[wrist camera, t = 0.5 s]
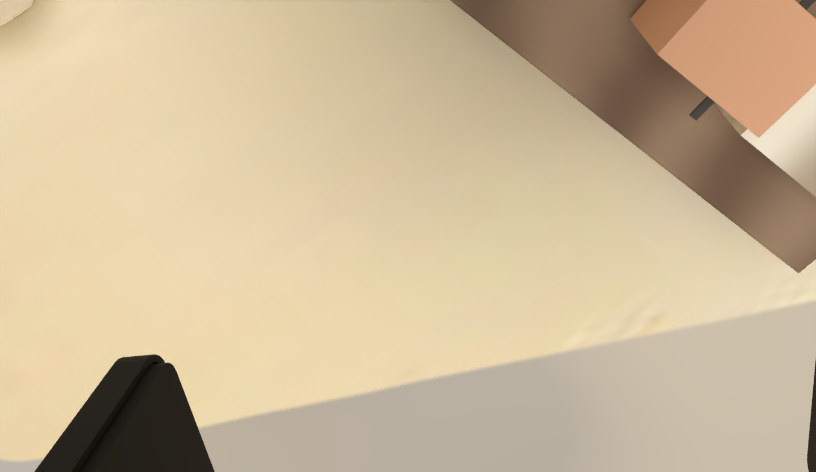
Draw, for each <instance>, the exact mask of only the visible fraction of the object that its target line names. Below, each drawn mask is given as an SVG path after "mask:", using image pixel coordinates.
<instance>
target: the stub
mask: <svg viewBox="0 0 816 472" xmlns="http://www.w3.org/2000/svg"><path fill="white" fill-rule="evenodd" d="M630 20H631V21H632V23H633V24H634V25H635V27H636V28H637V29H638V30H639V32H640V33H641V34H642V36H643V37H644V38H645V39H646V41H647V42H648V43H649V45H650V46H651V47H652V48H653V50H654V51H655V52H656V54H657V55H658V56H660V57H661V58H662V59H663V60H665V61H666V62H667V63H668V64H669V65H671V66H672V67H673V68H674V69H675V70H677V71H678V72H679V73H680V74H682V75H683V76H684V77H685V78H686V79H688V80H689V81H690V82H691V83H692V84H694V85H695V86H696V87H697V88H699V89H700V90H701V91H702V92H703V93H705V94H706V95H707V96H708V97H709V98H711V99H712V100H713V101H714V102H716V103H717V104H718V105H719V106H720V107H722V108H723V109H724V110H725V111H726V112H728V113H729V114H730V115H731V116H733V117H734V118H735V119H736V120H737V121H739V122H740V123H741V124H742V125H743V126H745V127H746V128H747V129H748V130H750V131H751V132H752V133H753V134H754V135H756V136H757V137H758V138H759V137H760V136H762V135H763V134H764V133H765V132H766V131H767V130H768V129H769V128H770V127H771V126H772V125H773V124H774V123H775V122H776V121H777V120H778V119H780V118H781V117H782V116H783V115H784V114H785V113H786V112H787V111H788V110H789V109H790V108H791V107H792V106H793V105H794V104H795V103H796V102H797V101H799V100H800V99H801V98H802V97H803V96H804V95H805V94H806V93H807V92H808V91H809V90H810V89H811V88H812V87H813V86H814V85H815V84H816V19H815V18H814V17H813V16H812V15H811V14H810V13H809V12H807V11H806V10H805V9H804V8H803V7H802V6H801V5H800V4H798V3H797V2H796V1H795V0H646V1H645V2H644V3H643V5H642V6H641V7H640V8H639V9H638V10H637V11H636V12H635V14H634V15H633V16H632V17H631V18H630Z"/></svg>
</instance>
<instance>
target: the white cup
mask: <svg viewBox="0 0 816 472" xmlns="http://www.w3.org/2000/svg"><path fill="white" fill-rule="evenodd" d="M33 2H34V0H0V26H2V25H3V24H5V23H7V22H9V21H11V20H12V19H14V18H16V17H17V16H19V15H20V14H21V13H23V12H24V11H25V10H26V9H28V8H29V7H30V6H32V4H33Z"/></svg>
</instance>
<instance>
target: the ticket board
mask: <svg viewBox="0 0 816 472" xmlns="http://www.w3.org/2000/svg"><path fill="white" fill-rule="evenodd" d="M451 1H452V2H453V3H455V4H456V5H457V6H458V7H460V8H461V9H462V10H464V11H465V12H466V13H467V14H469V15H470V16H471V17H472V18H474V19H475V20H476V21H478V22H479V23H480V24H481V25H483V26H484V27H485V28H486V29H488V30H489V31H490V32H492V33H493V34H494V35H495V36H497V37H498V38H499V39H500V40H502V41H503V42H504V43H506V44H507V45H508V46H509V47H511V48H512V49H513V50H515V51H516V52H517V53H518V54H520V55H521V56H522V57H523V58H525V59H526V60H527V61H529V62H530V63H531V64H532V65H534V66H535V67H536V68H537V69H539V70H540V71H541V72H543V73H544V74H545V75H546V76H548V77H549V78H550V79H552V80H553V81H554V82H555V83H557V84H558V85H559V86H560V87H562V88H563V89H564V90H566V91H567V92H568V93H569V94H571V95H572V96H573V97H574V98H576V99H577V100H578V101H580V102H581V103H582V104H583V105H585V106H586V107H587V108H588V109H590V110H591V111H592V112H594V113H595V114H596V115H597V116H599V117H600V118H601V119H603V120H604V121H605V122H606V123H608V124H609V125H610V126H611V127H613V128H614V129H615V130H617V131H618V132H619V133H620V134H622V135H623V136H624V137H625V138H627V139H628V140H629V141H631V142H632V143H633V144H634V145H636V146H637V147H638V148H640V149H641V150H642V151H643V152H645V153H646V154H647V155H648V156H650V157H651V158H652V159H654V160H655V161H656V162H657V163H659V164H660V165H661V166H662V167H664V168H665V169H666V170H668V171H669V172H670V173H671V174H673V175H674V176H675V177H676V178H678V179H679V180H680V181H682V182H683V183H684V184H685V185H687V186H688V187H689V188H691V189H692V190H693V191H694V192H696V193H697V194H698V195H699V196H701V197H702V198H703V199H705V200H706V201H707V202H708V203H710V204H711V205H712V206H713V207H715V208H716V209H717V210H719V211H720V212H721V213H722V214H724V215H725V216H726V217H728V218H729V219H730V220H731V221H733V222H734V223H735V224H736V225H738V226H739V227H740V228H742V229H743V230H744V231H745V232H747V233H748V234H749V235H750V236H752V237H753V238H754V239H756V240H757V241H758V242H759V243H761V244H762V245H763V246H764V247H766V248H767V249H768V250H770V251H771V252H772V253H773V254H775V255H776V256H777V257H779V258H780V259H781V260H782V261H784V262H785V263H786V264H787V265H789V266H790V267H791V268H793V269H794V270H795V271H796V272H798V273H799V272H801V271H802V270H803V269H804V268H806V267H807V266H808V265H809V264H810V263H812V262H813V261H814V260H815V259H816V84H815V85H814V86H813V87H812V88H811V89H810V90H809V91H808V92H807V93H806V94H805V95H804V96H803V97H802V98H801V99H800V100H799V101H797V102H796V103H795V104H794V105H793V106H792V107H791V108H790V109H789V110H788V111H787V112H786V113H785V114H784V115H783V116H782V117H781V118H780V119H778V120H777V121H776V122H775V123H774V124H773V125H772V126H771V127H770V128H769V129H768V130H767V131H766V132H765V133H764V134H763V135H762V136H760V137H759V138H758V137H757V136H756V135H754V134H753V133H752V132H751V131H750V130H748V129H747V128H746V127H745V126H743V125H742V124H741V123H740V122H739V121H737V120H736V119H735V118H734V117H733V116H731V115H730V114H729V113H728V112H726V111H725V110H724V109H723V108H722V107H720V106H719V105H718V104H717V103H716V102H714V101H713V100H712V99H711V98H709V97H708V96H707V95H706V94H705V93H703V92H702V91H701V90H700V89H699V88H697V87H696V86H695V85H694V84H692V83H691V82H690V81H689V80H688V79H686V78H685V77H684V76H683V75H682V74H680V73H679V72H678V71H677V70H675V69H674V68H673V67H672V66H671V65H669V64H668V63H667V62H666V61H665V60H663V59H662V58H661V57H660V56H658V55H657V54H656V52H655V51H654V50H653V48H652V47H651V46H650V45H649V43H648V42H647V41H646V39H645V38H644V37H643V36H642V34H641V33H640V32H639V30H638V29H637V28H636V27H635V25H634V24H633V23H632V21H631V20H630V18H631V17H632V16H633V15H634V14H635V12H636V11H637V10H638V9H639V8H640V7H641V6H642V5H643V3H644V2H645V1H646V0H451ZM795 1H796V2H797V3H798V4H800V5H801V6H802V7H803V8H804V9H805V10H806V11H807V12H809V13H810V14H811V15H812V16H813V17H814V18H815V19H816V0H795Z"/></svg>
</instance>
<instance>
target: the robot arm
mask: <svg viewBox="0 0 816 472" xmlns="http://www.w3.org/2000/svg"><path fill="white" fill-rule="evenodd" d="M807 463H808V469H809V472H816V363H815V375H814V385H813V398H812V409H811V420H810V431H809V443H808V454H807ZM35 472H214V469H213V466H212V464H211V461H210V459H209V456H208V454H207V451H206V448H205V445H204V443H203V440H202V438H201V435H200V433H199V430H198V427H197V424H196V422H195V419H194V417H193V414H192V411H191V409H190V406H189V403H188V401H187V398H186V396H185V393H184V390H183V388H182V385H181V382H180V380H179V377H178V374H177V372H176V370H175V368H174V366H173V365H172V364H170V363H165V362H164V360H163V359H162V358H161V357H160V356H158V355H144V356H132V357H123V358H120V359H118V360H117V361H116V362H115V363H114V364H113V366H112V367H111V369H110V370H109V371H108V373H107V374H106V375H105V377H104V378H103V379H102V381H101V382H100V383H99V385H98V386H97V388H96V389H95V390H94V392H93V393H92V394H91V396H90V397H89V398H88V400H87V401H86V402H85V404H84V405H83V407H82V408H81V409H80V411H79V412H78V413H77V415H76V416H75V417H74V419H73V420H72V421H71V423H70V424H69V426H68V427H67V428H66V430H65V431H64V432H63V434H62V435H61V436H60V438H59V439H58V440H57V442H56V443H55V445H54V446H53V447H52V449H51V450H50V451H49V453H48V454H47V455H46V457H45V458H44V460H43V461H42V462H41V464H40V465H39V466H38V468H37V469H36V470H35Z"/></svg>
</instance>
